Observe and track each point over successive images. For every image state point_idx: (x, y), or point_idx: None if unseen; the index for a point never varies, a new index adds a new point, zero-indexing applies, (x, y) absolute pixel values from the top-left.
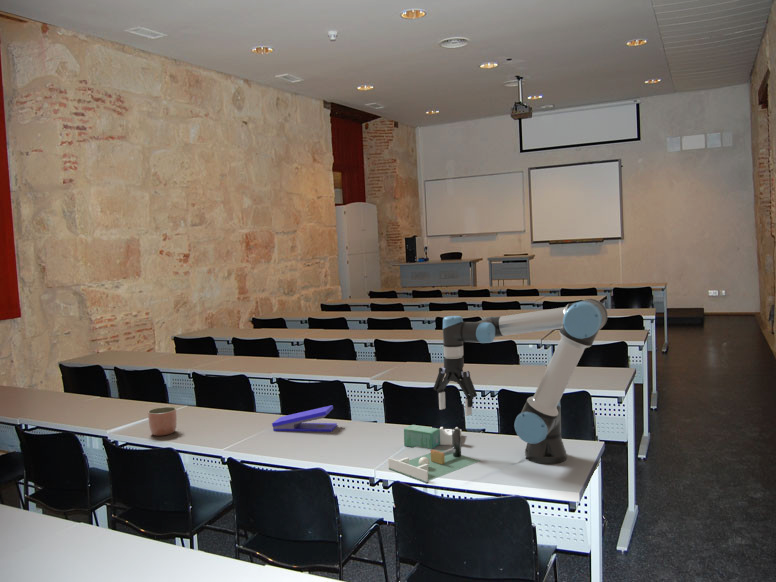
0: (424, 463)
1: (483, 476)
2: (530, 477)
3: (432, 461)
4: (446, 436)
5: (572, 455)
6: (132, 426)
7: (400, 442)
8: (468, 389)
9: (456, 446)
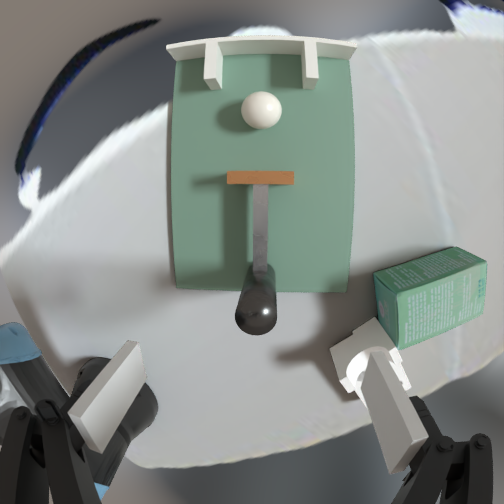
0: (245, 98)
1: (105, 207)
2: (53, 278)
3: None
4: (366, 345)
5: None
6: None
7: None
8: (11, 457)
9: (249, 276)
